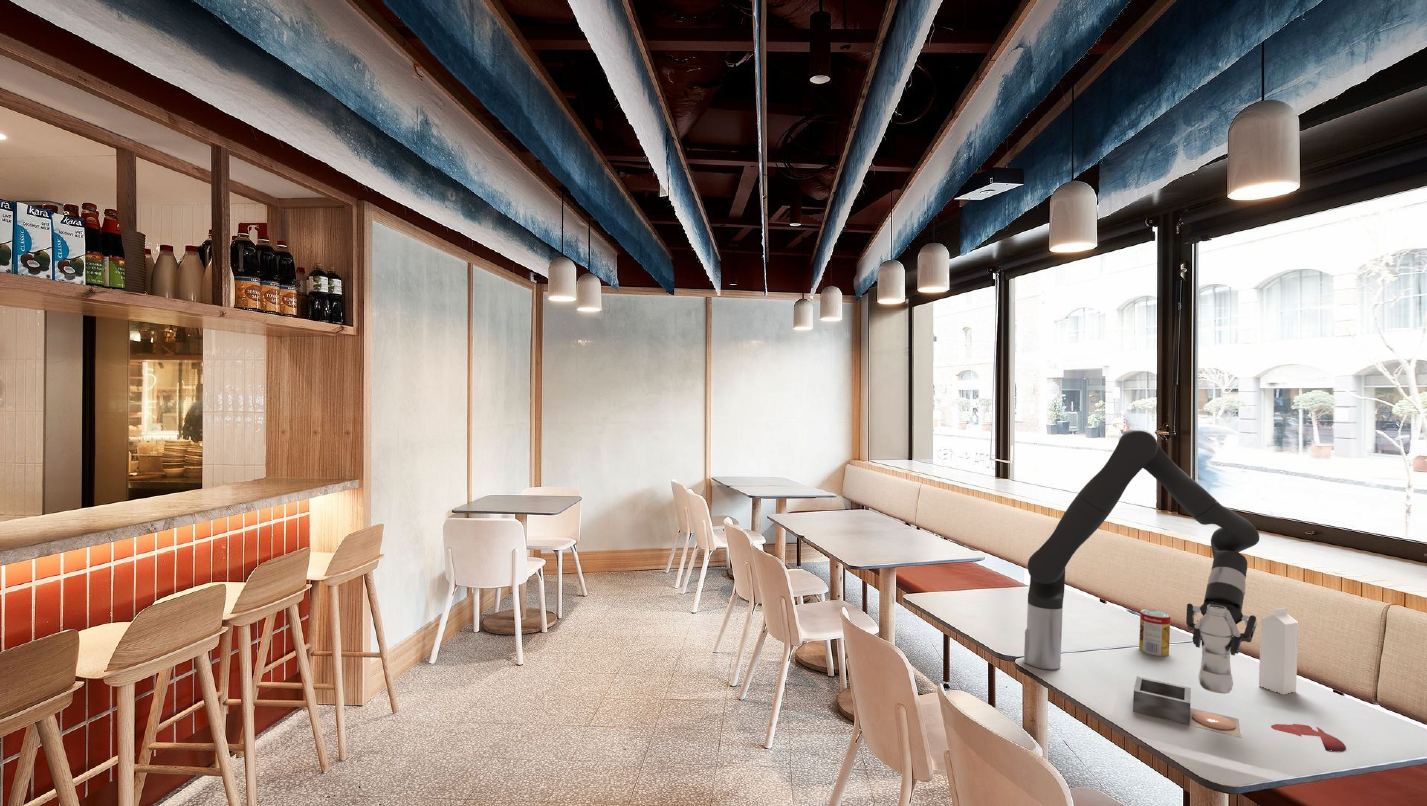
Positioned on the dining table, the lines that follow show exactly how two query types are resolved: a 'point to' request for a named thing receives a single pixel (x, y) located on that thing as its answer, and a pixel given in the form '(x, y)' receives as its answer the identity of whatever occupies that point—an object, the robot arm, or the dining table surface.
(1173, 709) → the wooden organizer tray
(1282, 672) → the milk
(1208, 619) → the plastic bottle
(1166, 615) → the canned food
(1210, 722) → the terracotta coaster
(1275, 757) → the dining table surface
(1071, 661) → the dining table surface
